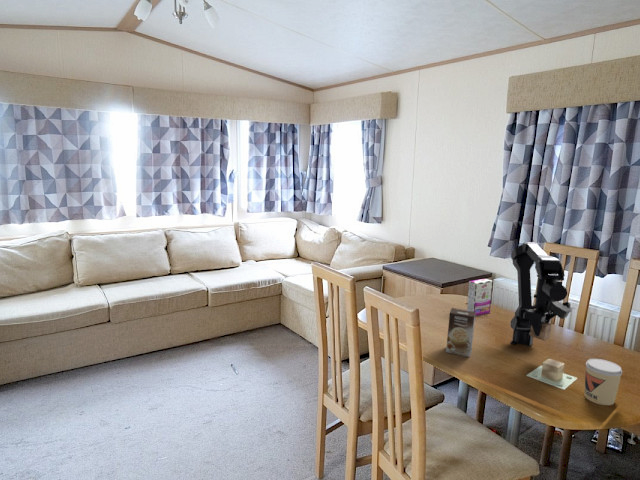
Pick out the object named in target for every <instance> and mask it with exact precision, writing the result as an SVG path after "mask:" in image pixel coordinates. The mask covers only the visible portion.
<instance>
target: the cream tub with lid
mask: <svg viewBox="0 0 640 480" xmlns="http://www.w3.org/2000/svg"><path fill="white" fill-rule="evenodd" d="M622 374H623V370H622V367H621V366H620V365H619V364H617V363H615V362H612V361H610V360H605V359H601V358H589V359H588V360H587V361H586V362H585V375H584V376H585V377H584V392H583V393H584V397H585V398H586V399H587V400H588V401H590V402H592V403H594V404H597V405H602V406H612V405H614V404H615V401H616V397H617V393H618V389H619V387H620V386H619V385H620V382H621V377H622Z"/></svg>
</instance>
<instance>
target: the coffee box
mask: <svg viewBox="0 0 640 480" xmlns="http://www.w3.org/2000/svg"><path fill="white" fill-rule="evenodd" d="M475 321H476V316H475V312H472V311H467V309H466V310H465V309H460V308H454V307H451V309H450V311H449V318H448V328H447V337H446V338H447V339H446V349H445V353H450V354H454V355H457V356H458V355H459V356H463V357H468V358H470V357H471V355H472V354H471V353H472V349H473V341H474V330H475V329H474V328H475Z"/></svg>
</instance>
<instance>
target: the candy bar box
mask: <svg viewBox="0 0 640 480" xmlns="http://www.w3.org/2000/svg"><path fill="white" fill-rule="evenodd" d="M467 290H468V291H467V304H466V306H467V307H466V310H467V311H472V312H475V317H477V316H482V315H487V314H490V313H491V305H492V304H491V303H492V295H493V294H492V293H493V280H492V279H488V278H482V279H481V278H480V279H475V280H469V281H468V289H467Z"/></svg>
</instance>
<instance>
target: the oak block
mask: <svg viewBox="0 0 640 480" xmlns="http://www.w3.org/2000/svg"><path fill="white" fill-rule="evenodd" d="M541 366H542V374H541V376H542V377H545V378H547V379H550V380H553V381H555V382H557V381H559V380H560V379H561V378H562V377H563V373H564V371H565V370H564V369H565V363H564V362H561V361H558V360H555V359H552V358H547V359H546V360H544V361H542V365H541Z"/></svg>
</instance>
